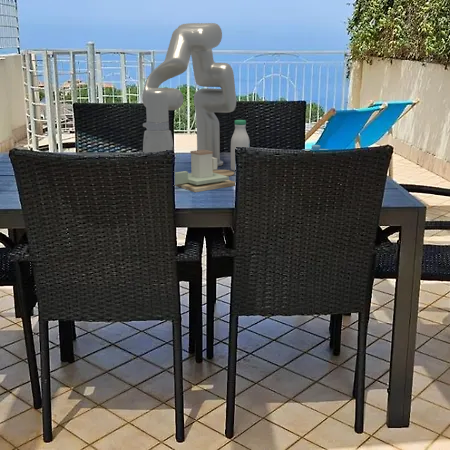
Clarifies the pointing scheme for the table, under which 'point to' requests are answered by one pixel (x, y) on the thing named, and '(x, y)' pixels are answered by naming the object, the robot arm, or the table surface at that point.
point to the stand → (206, 186)
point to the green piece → (187, 178)
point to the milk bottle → (238, 139)
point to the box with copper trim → (202, 163)
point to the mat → (224, 172)
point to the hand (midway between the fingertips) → (159, 179)
